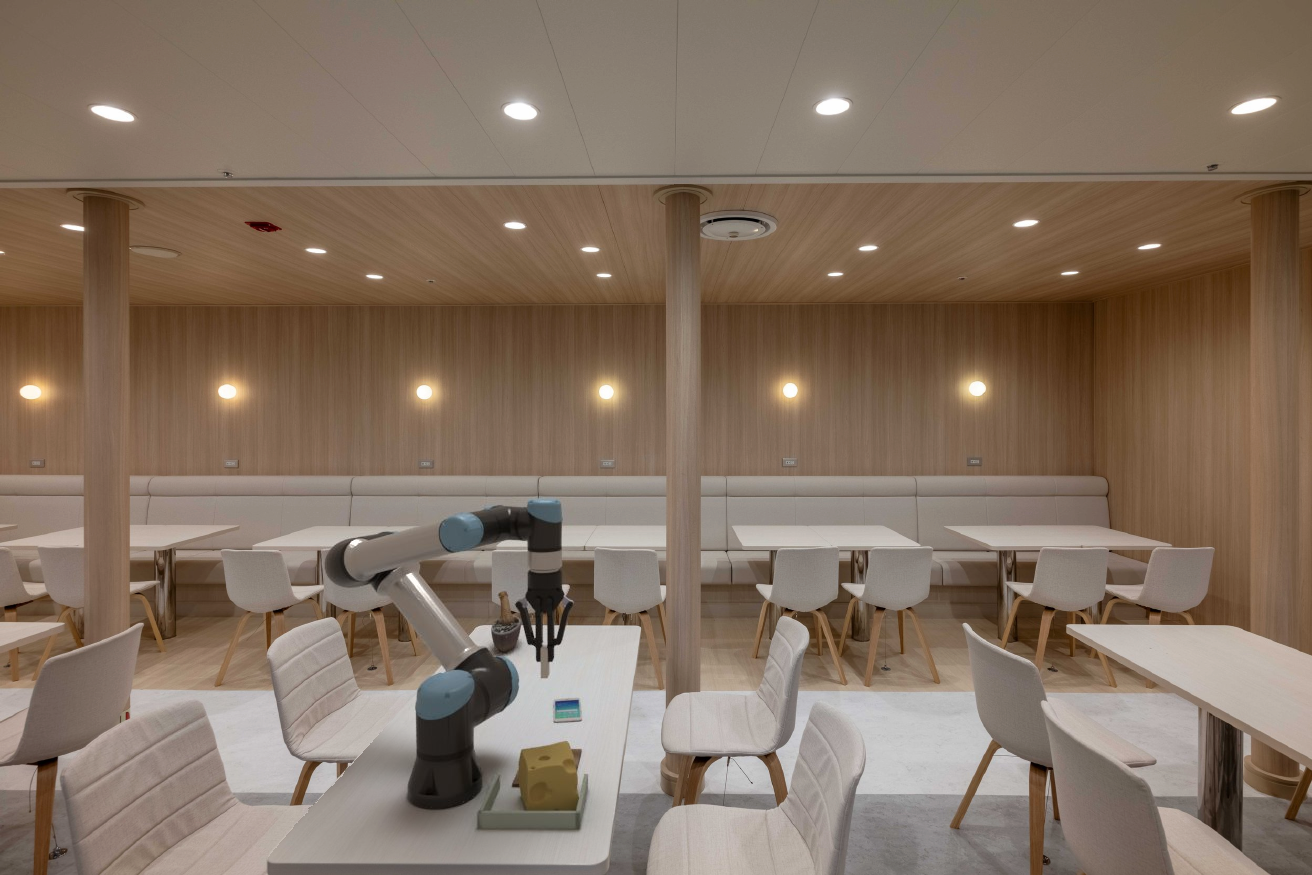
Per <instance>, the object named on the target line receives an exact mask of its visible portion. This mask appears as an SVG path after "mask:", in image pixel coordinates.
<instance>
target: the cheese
mask: <svg viewBox="0 0 1312 875" xmlns="http://www.w3.org/2000/svg"><path fill="white" fill-rule="evenodd" d="M571 749H572V747H571V745H570V742H569V741H567V740H565V741H559V742H556V743H555V742H554V743H552V744H547V745H542V746H535V747H529V748H528V747H527V748H522V749H520V753H519V759H518V770H517V771H518V772H519V786H520V787H519V789H520V790H519V791H520V794H521V799H522V802H523V804H524V807H525V811H576V809H577V805H578V800H579V796H580V793H579V792H578V785H579V783H578V782H579V777H578V770H577V771H576V767H575V761H574V756H573V753H572V751H571Z"/></svg>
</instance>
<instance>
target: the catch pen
mask: <svg viewBox="0 0 1312 875" xmlns="http://www.w3.org/2000/svg"><path fill="white" fill-rule="evenodd" d="M500 776H501V774H500V773H495V775H494V778H493V780H491V781H492V782H491V783H490V786H489V787H488V790H487V792H486V794H485V796H484V798H483V800H482V802H481V804H480V806H479V809H478V811H477V813H476V818H477V820H476V824H477V826H476V828H477V829H479V830H480V829H481V830H483V829H484V830H485V829H486V830H487V829H491V830H492V829H493V830H494V829H500V830H501V829H502V830H503V829H504V830H505V829H506V830H507V829H508V830H509V829H511V830H514V829H516V830H517V829H518V830H519V829H520V830H522V829H523V830H525V829H526V830H529V829H530V830H531V829H532V830H533V829H535V830H538V829H540V830H541V829H542V830H543V829H544V830H546V829H547V830H549V829H550V830H551V829H552V830H559V829H562V830H564V829H565V830H580V829H581V824H582V820H583V814H584V810H585V805H586V800H587V795H588V792H589V791H588V790H589V773H584V774H583V779H582V783H581V787H580V792H579V800H578V805H577V809H576V811H526V810H491V808H492V807H493V804H494V802H495V800H496V797H497V795H498V793H499V790H500V788H501V777H500Z"/></svg>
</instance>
